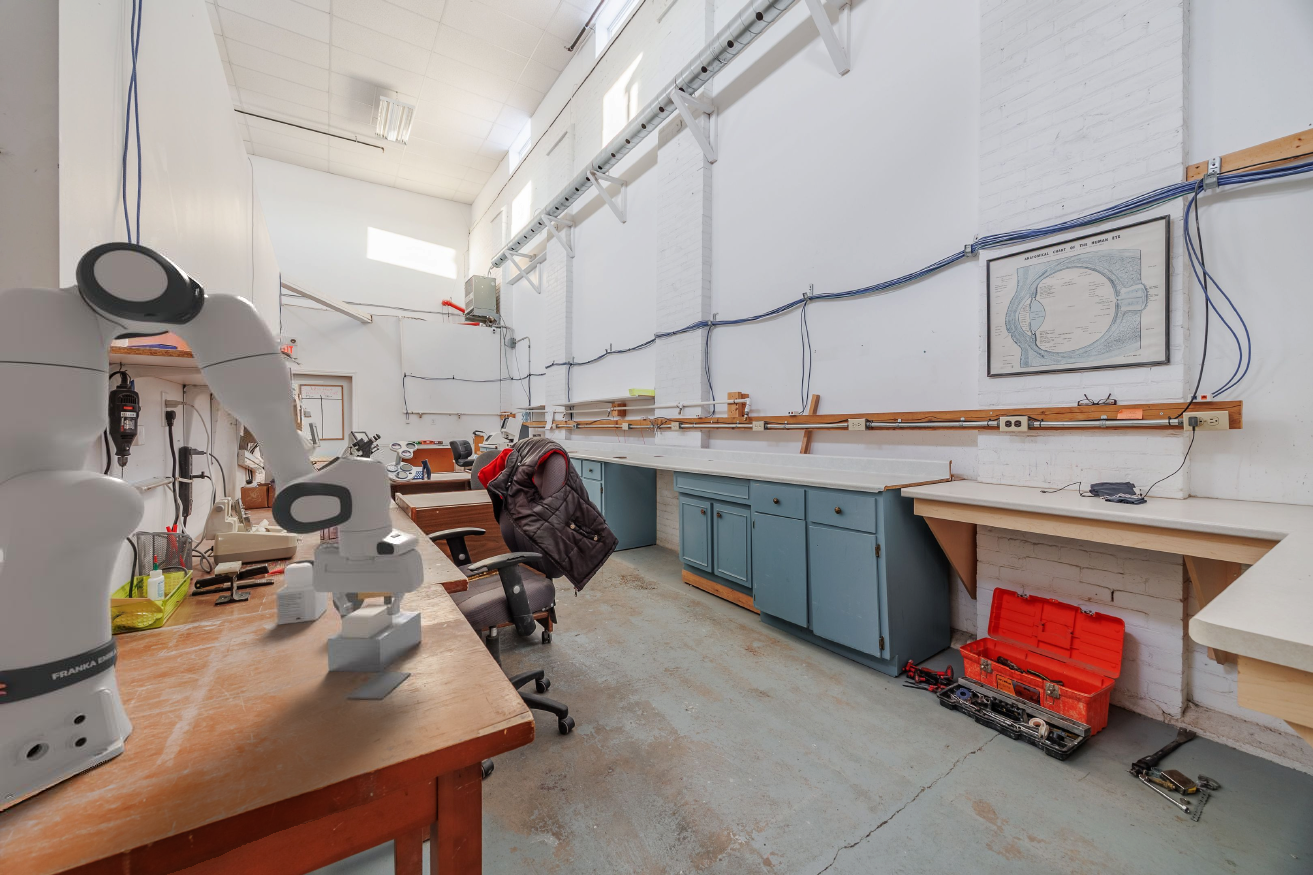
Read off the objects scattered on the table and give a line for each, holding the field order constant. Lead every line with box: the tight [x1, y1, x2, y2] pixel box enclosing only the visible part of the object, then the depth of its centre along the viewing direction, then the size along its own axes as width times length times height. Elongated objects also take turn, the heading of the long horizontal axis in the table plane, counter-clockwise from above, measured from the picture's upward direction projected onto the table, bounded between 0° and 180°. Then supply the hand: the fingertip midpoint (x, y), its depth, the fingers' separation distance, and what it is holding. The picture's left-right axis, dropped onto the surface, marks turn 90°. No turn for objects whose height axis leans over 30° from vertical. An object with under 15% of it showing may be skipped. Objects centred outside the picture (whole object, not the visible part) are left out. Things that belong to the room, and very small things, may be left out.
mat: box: [346, 671, 412, 700], centre depth 83 cm, size 8×6×1 cm
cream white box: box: [341, 603, 392, 638], centre depth 92 cm, size 7×5×4 cm
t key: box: [358, 593, 393, 605], centre depth 98 cm, size 8×2×6 cm, turn 107°
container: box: [275, 559, 328, 625], centre depth 115 cm, size 8×8×13 cm
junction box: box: [327, 611, 422, 673], centre depth 94 cm, size 13×10×6 cm
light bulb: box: [332, 592, 366, 620], centre depth 107 cm, size 6×6×10 cm
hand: (369, 613), depth 92 cm, fingers open, 8 cm apart
